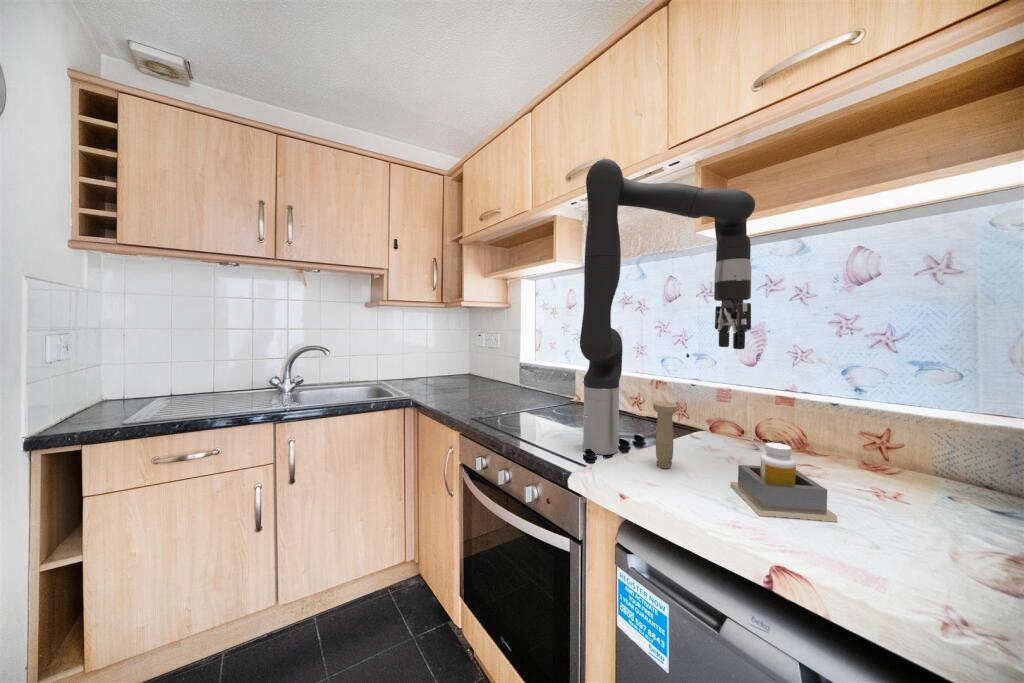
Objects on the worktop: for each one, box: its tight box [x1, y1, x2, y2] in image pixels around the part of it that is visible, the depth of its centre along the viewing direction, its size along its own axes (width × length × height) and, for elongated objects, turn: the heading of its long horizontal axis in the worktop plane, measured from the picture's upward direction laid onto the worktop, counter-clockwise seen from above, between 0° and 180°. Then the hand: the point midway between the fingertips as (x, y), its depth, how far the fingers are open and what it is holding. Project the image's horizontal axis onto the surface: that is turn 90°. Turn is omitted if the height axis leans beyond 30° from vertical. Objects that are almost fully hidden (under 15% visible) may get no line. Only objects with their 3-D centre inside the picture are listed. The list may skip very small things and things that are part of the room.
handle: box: [652, 400, 678, 469], centre depth 86 cm, size 5×6×15 cm
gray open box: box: [730, 464, 838, 523], centre depth 68 cm, size 12×12×5 cm
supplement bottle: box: [760, 442, 797, 485], centre depth 69 cm, size 5×5×10 cm
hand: (730, 347), depth 87 cm, fingers open, 8 cm apart
